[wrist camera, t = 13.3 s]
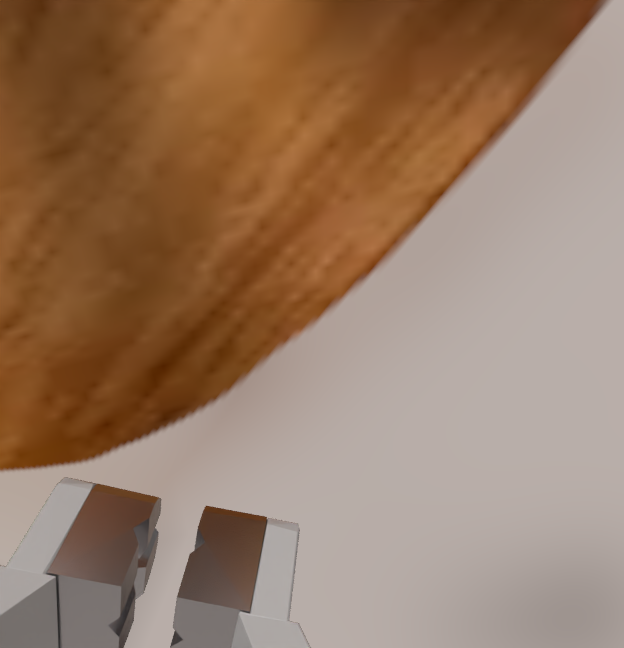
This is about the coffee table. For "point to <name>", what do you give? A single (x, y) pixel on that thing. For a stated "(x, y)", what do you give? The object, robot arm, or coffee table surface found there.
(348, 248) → the coffee table surface
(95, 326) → the coffee table surface
